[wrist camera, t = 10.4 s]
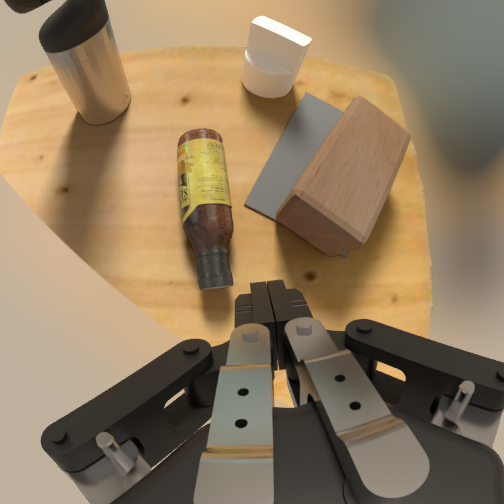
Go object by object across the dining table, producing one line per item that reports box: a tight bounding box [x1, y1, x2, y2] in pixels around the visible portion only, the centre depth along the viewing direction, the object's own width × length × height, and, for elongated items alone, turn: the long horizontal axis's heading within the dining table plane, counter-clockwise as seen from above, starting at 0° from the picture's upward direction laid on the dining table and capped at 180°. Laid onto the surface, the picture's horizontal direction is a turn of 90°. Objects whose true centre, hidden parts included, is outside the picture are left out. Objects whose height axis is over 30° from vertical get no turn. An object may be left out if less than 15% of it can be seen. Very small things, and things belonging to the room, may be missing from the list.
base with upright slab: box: [241, 16, 312, 98], centre depth 37 cm, size 9×9×12 cm
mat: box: [244, 92, 348, 257], centre depth 42 cm, size 16×24×1 cm, turn 154°
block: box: [276, 96, 411, 257], centre depth 36 cm, size 10×10×20 cm
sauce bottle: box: [177, 128, 233, 290], centre depth 35 cm, size 6×6×20 cm
